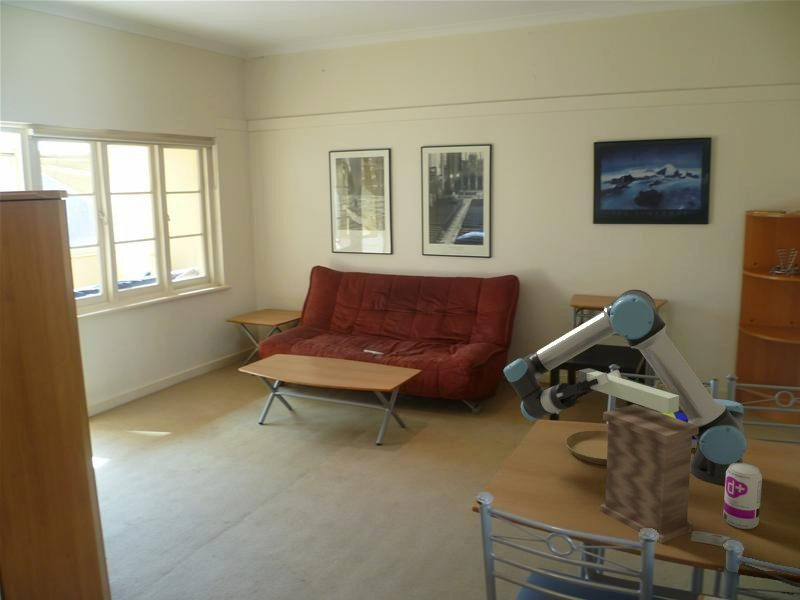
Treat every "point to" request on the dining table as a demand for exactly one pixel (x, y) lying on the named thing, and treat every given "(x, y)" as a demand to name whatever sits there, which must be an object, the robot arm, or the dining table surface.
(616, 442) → the stand
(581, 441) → the plant saucer
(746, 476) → the supplement can
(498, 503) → the dining table surface
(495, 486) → the dining table surface
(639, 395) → the bar
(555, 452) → the dining table surface
